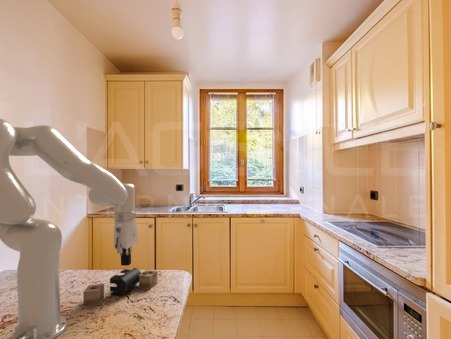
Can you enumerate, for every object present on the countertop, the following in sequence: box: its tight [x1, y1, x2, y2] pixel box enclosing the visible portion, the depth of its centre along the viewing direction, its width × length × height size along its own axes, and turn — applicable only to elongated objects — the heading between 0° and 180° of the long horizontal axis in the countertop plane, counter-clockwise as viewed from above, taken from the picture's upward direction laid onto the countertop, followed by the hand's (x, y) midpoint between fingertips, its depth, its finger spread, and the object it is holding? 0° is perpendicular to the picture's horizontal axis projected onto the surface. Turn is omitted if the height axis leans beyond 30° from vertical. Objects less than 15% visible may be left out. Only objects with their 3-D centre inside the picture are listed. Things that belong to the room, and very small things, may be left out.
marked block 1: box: [82, 283, 105, 308], centre depth 88 cm, size 5×5×5 cm
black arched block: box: [109, 267, 142, 297], centre depth 96 cm, size 10×7×7 cm
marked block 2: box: [138, 269, 158, 290], centre depth 99 cm, size 5×5×5 cm
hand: (126, 264), depth 96 cm, fingers closed
